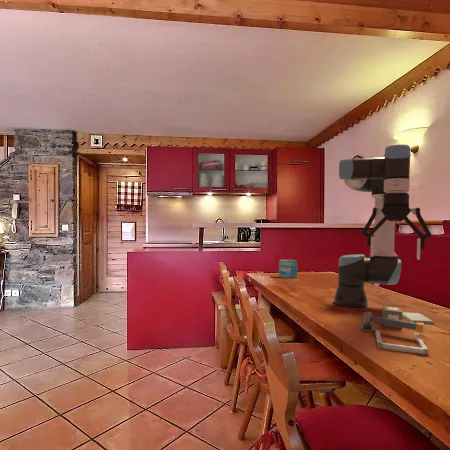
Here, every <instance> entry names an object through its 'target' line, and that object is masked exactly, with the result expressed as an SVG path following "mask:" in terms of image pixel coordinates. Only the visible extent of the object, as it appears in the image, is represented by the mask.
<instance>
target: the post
mask: <svg viewBox="0 0 450 450" xmlns="http://www.w3.org/2000/svg"><path fill="white" fill-rule="evenodd" d="M375 328H376V326H373V312H371V311H363V324H359V330H360V331H363V332H371V333H375Z"/></svg>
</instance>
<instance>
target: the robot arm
mask: <svg viewBox="0 0 450 450" xmlns="http://www.w3.org/2000/svg"><path fill="white" fill-rule="evenodd" d="M411 156H412V154H411V147H410V145H408V144H403V143H398V144H397V143H396V144H391V145H388V146H386V147H385V149H384V155H383V157H372V158H371V157H370V158H346V159H345V158H343V159H341V160H339V164H338V177H339V179H340V180H343V181H344V184H345V185H346V186H347V187H348V188H349V189H351V190H354V191H356V192H362V193H366V192H367V193H371V198H373V199H374V207H373V208H372V212H371V215H370V217H369V219H368V221H367V222H366V224H365V226H364V228H363V230H361V235H364V236H365V237H367V238H366V241H367V242H366V245H367V247H370V253H369V257H366V255H365V254H363V253H360V254H346V255H341V256H340V257H339V259H338V264H337V267H338V271H337V272H338V273H337V274H338V276H337V277H338V278H337V288H336V291H335V294H334V296H333V303H334V304H336V305H339V306H340V307H341V306H343V307H348V308H349V307H350V308H365V307H368V305H369V300H368V296H367V294H366V290H365V284H376V285H379V284H380V285H385V286H387V285H393V286H394V285H397V284H398V282H399V280H400V277H401V272H402V260H401V259H399V255H398V254H397V253H396V252H395V236H396V235H395V232H396V230H395V229H396V227H395V226H396V222H403V221H404V222H405V223H406V224H407V225H408V226H409V227H410V228H411V230H413V231H414V233H415V234H416V235H417V236H418V237H419V238H417V239H416V260H418V261H420V260H421V250H424V249H425V245H426V244H425V240H426V239H427V238H430V237H432V233H431V231H430V229H429V227H428V225H427V224H426V221H425V220H424V218H423V216H422V214H421V208H420V207H415V208H414V207H413V208H410V194H409V192H410V185H411V184H410V182H411V181H410V180H411V179H410V173H411V168H410V167H411ZM410 213H412V214H413V215H414V216H416V219H417V221H418V223H419V224H420V226H421V228H422V230H423V232H424V233H422V231H421V230H420V229H419V228H418V227H417V226H416V225H415V224H414V223H413V222H412V221H411V220H410V218H409V217H408V215H409V214H410ZM372 223H374V226H373V228H372V229H371V230H370V231H369V229H370V227H371V226H372ZM368 231H369V232H368Z"/></svg>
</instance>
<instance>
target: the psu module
mask: <svg viewBox="0 0 450 450" xmlns="http://www.w3.org/2000/svg"><path fill="white" fill-rule="evenodd" d="M402 312H403V310H402V309H401V307H397V306H385V305H383V306H382V317H385V318H391V319H397V320H403V317H402ZM383 327H390V328H399V329H402V328H401V327H395V326H389V325H384V324H383Z"/></svg>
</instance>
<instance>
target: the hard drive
mask: <svg viewBox="0 0 450 450" xmlns="http://www.w3.org/2000/svg"><path fill="white" fill-rule="evenodd" d="M402 318H404V319H405V320H406V321H409V322H415V323H417V322H420V323H424V325H426V324H427V325H435V321H433V320H432V319H430V318H428V317H427V316H425V315H423V314H422V313H419V312H407V311H405V312H404V311H402Z"/></svg>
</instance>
